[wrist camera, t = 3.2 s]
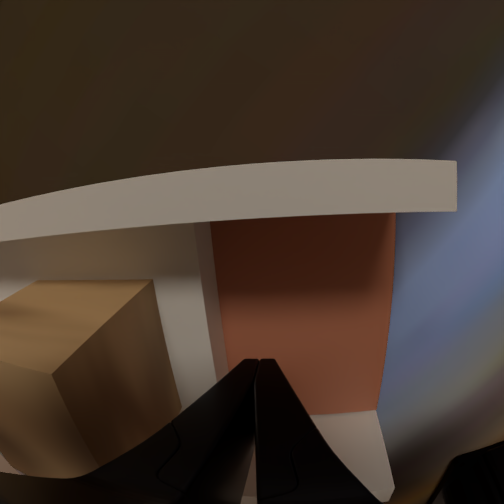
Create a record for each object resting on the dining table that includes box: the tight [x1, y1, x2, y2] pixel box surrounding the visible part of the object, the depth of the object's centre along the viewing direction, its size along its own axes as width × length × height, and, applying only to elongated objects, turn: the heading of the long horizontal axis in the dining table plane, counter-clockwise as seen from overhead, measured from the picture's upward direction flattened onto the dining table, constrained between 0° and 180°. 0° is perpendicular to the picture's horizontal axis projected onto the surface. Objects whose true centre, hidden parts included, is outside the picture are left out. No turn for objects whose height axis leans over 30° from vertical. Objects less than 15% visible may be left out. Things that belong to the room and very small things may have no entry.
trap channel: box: [0, 159, 457, 504], centre depth 10 cm, size 11×26×4 cm, turn 95°
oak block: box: [0, 279, 182, 478], centre depth 8 cm, size 5×5×5 cm
